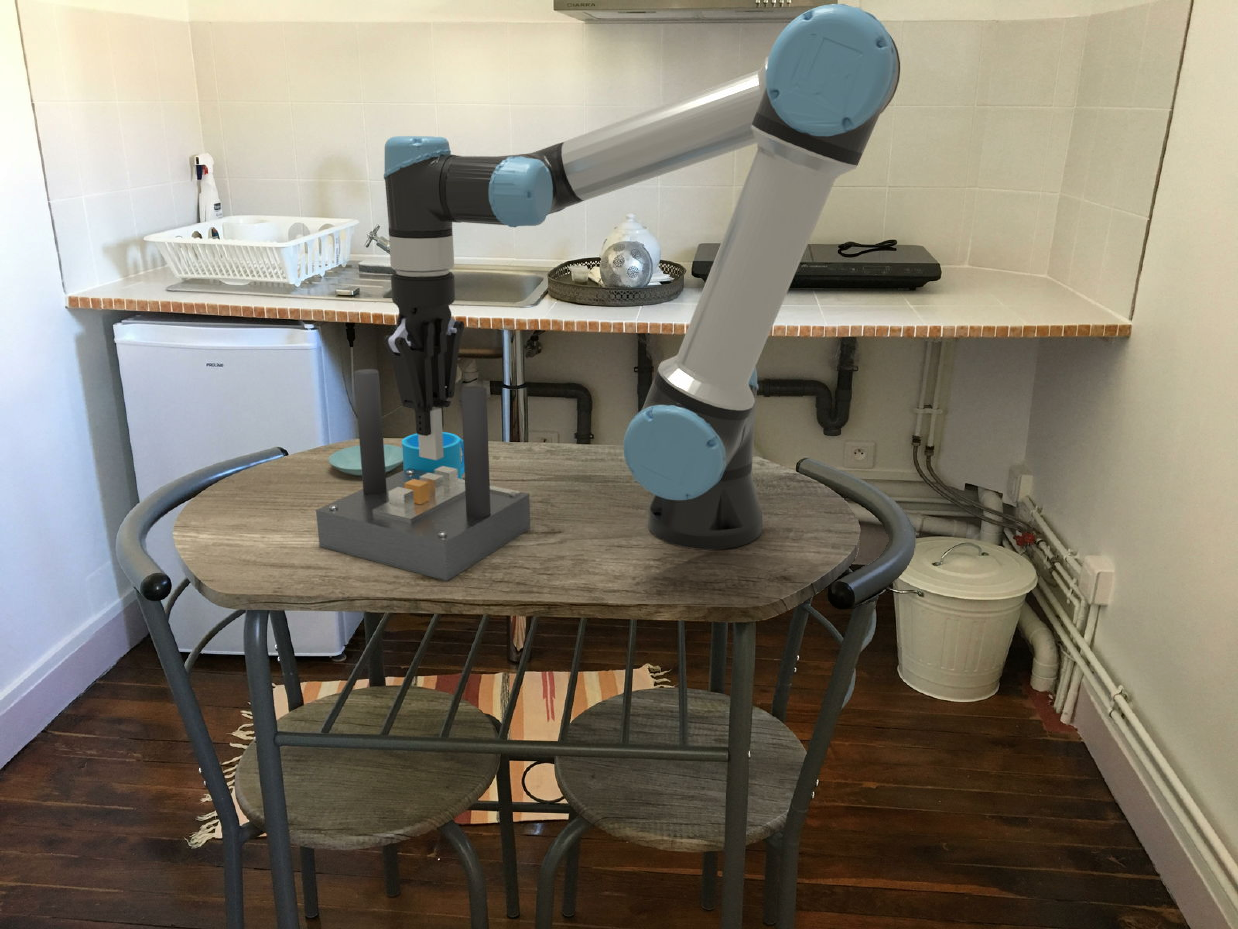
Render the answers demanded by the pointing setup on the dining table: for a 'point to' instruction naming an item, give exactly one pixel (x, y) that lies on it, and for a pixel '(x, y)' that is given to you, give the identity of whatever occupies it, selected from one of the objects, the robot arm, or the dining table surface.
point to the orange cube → (418, 490)
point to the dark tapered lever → (476, 451)
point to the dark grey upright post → (370, 431)
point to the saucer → (351, 459)
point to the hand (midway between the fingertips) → (431, 456)
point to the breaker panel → (422, 524)
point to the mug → (429, 465)
